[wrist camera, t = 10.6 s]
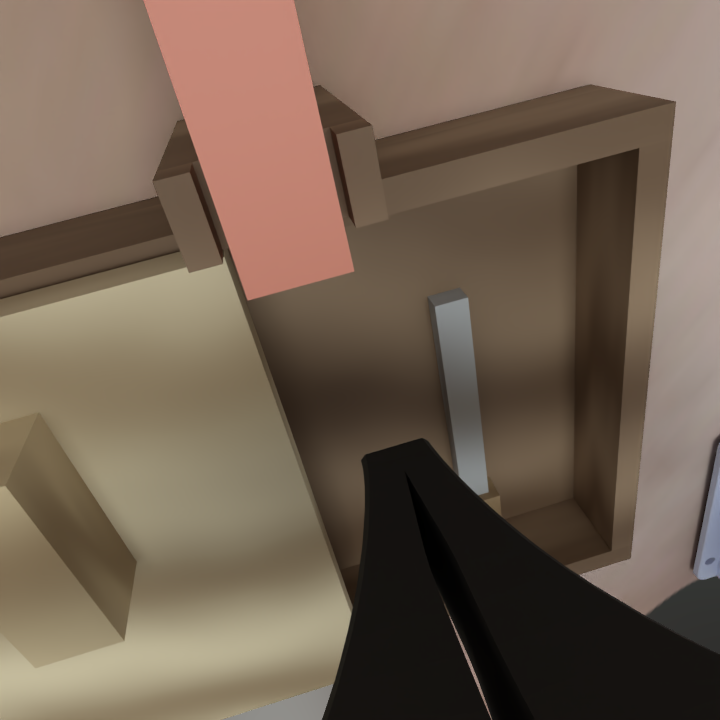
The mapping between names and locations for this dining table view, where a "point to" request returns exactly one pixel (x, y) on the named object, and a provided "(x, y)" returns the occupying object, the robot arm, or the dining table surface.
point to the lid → (154, 507)
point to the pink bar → (256, 136)
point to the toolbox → (448, 306)
